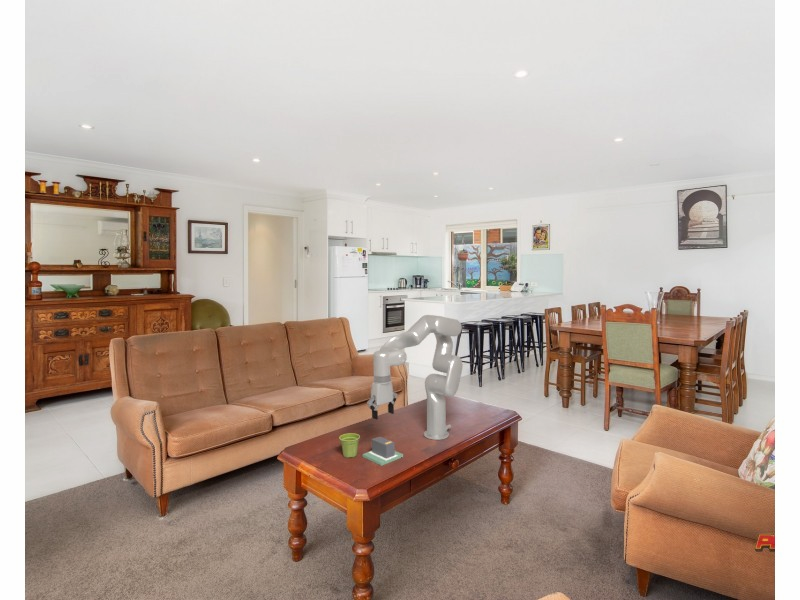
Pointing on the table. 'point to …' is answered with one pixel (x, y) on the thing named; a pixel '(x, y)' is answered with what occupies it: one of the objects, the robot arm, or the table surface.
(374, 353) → the robot arm
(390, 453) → the block
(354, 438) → the plant pot
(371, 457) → the header board
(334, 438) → the table surface
